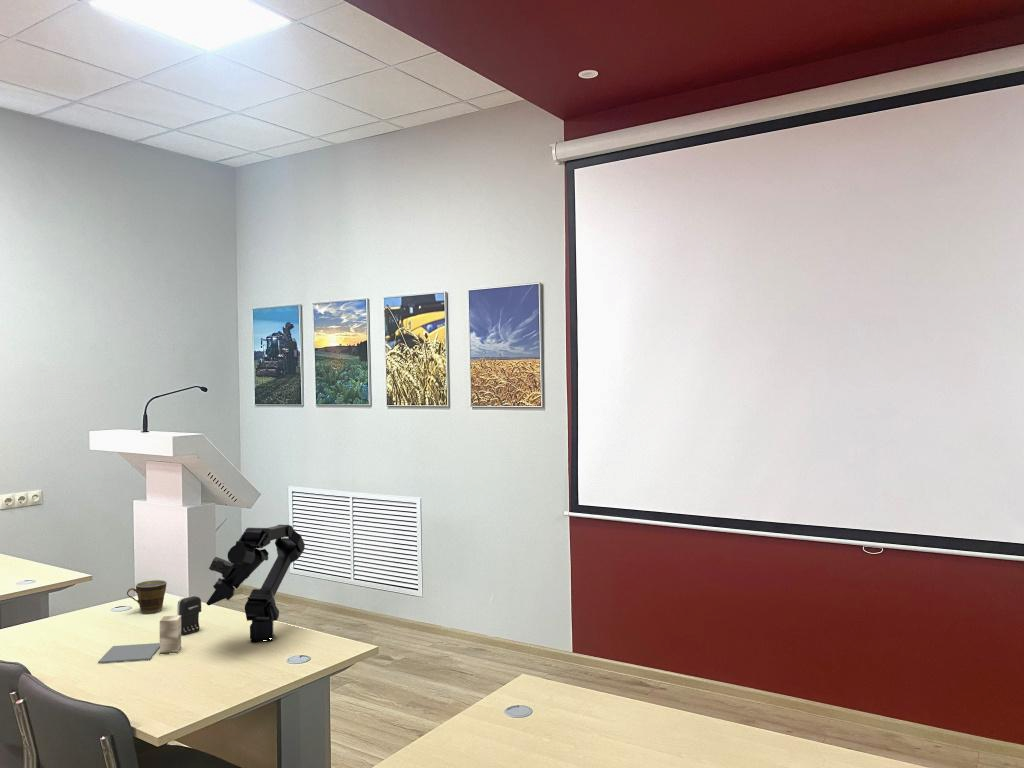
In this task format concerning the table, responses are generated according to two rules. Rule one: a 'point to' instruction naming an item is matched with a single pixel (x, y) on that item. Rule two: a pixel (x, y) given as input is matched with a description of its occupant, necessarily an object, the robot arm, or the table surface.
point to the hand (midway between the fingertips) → (207, 604)
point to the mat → (130, 653)
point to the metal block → (170, 634)
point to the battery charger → (189, 614)
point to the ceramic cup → (150, 596)
